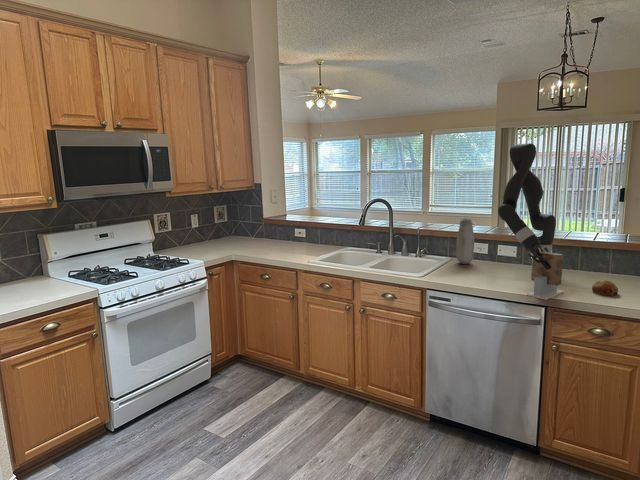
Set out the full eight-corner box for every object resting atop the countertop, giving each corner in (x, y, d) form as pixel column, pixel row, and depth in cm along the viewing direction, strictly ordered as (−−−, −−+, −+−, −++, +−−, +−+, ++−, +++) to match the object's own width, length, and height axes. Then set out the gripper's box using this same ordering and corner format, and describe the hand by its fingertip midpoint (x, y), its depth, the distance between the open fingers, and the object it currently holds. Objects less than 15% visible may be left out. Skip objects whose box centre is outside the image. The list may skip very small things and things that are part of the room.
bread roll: (609, 298, 204) (606, 281, 206) (625, 295, 194) (621, 277, 196) (589, 298, 203) (586, 282, 206) (604, 295, 194) (600, 278, 196)
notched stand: (544, 288, 209) (545, 270, 207) (563, 292, 202) (565, 274, 200) (526, 295, 199) (527, 276, 197) (546, 299, 192) (547, 280, 190)
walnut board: (531, 280, 203) (533, 251, 201) (535, 278, 205) (537, 250, 203) (557, 285, 194) (559, 255, 191) (561, 284, 196) (563, 254, 193)
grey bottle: (455, 261, 269) (457, 217, 264) (473, 262, 266) (475, 217, 261) (455, 264, 260) (457, 219, 255) (473, 265, 256) (475, 219, 251)
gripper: (525, 235, 197) (550, 265, 190) (541, 232, 206) (565, 261, 198) (514, 245, 202) (537, 275, 195) (529, 241, 211) (552, 269, 203)
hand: (551, 267), depth 197 cm, fingers open, 3 cm apart
